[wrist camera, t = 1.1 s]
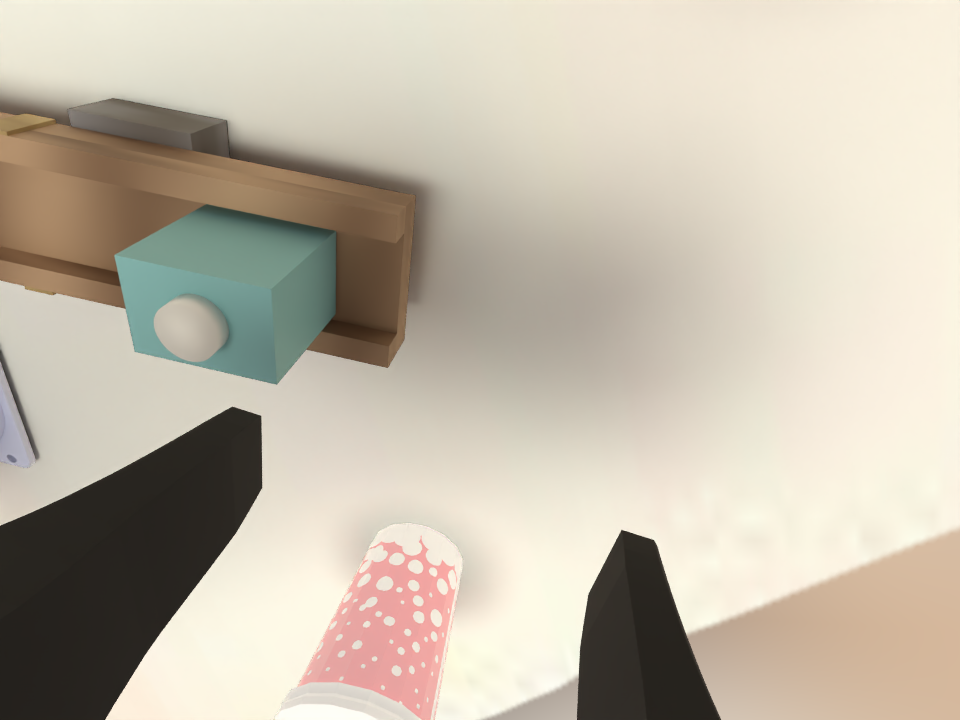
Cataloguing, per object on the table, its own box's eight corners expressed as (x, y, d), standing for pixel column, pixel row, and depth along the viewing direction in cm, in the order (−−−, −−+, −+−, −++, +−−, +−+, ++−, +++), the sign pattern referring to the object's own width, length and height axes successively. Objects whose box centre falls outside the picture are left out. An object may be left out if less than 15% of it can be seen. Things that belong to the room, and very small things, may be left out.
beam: (-22, 227, 24) (-119, 265, 21) (-78, 61, 21) (-204, 76, 17) (419, 323, 22) (386, 380, 19) (434, 161, 19) (398, 197, 16)
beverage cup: (344, 507, 29) (159, 870, 17) (470, 514, 27) (363, 913, 16) (371, 592, 32) (230, 947, 20) (485, 602, 30) (405, 989, 19)
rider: (216, 287, 19) (119, 363, 16) (207, 203, 18) (96, 264, 14) (335, 313, 19) (266, 397, 15) (336, 230, 18) (258, 300, 14)
